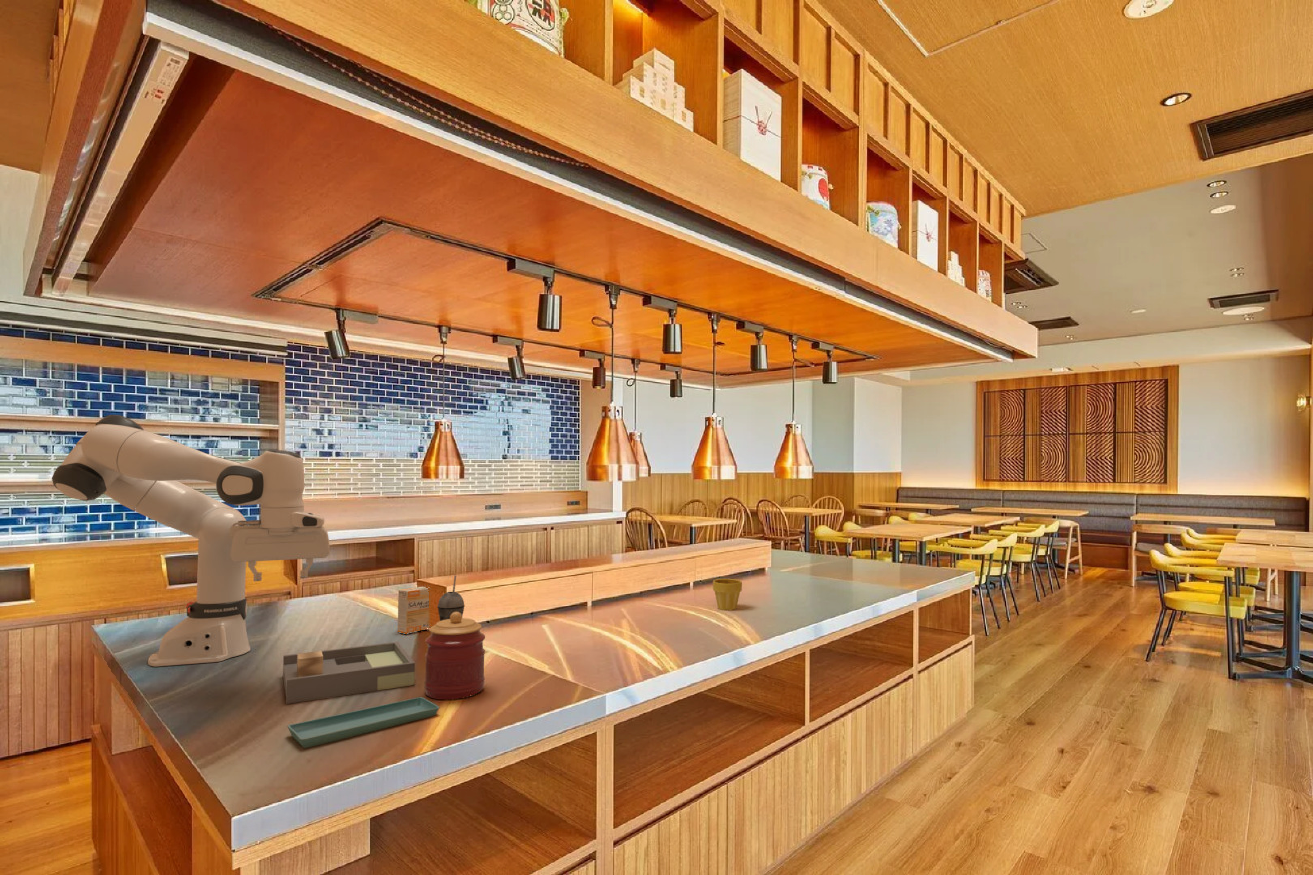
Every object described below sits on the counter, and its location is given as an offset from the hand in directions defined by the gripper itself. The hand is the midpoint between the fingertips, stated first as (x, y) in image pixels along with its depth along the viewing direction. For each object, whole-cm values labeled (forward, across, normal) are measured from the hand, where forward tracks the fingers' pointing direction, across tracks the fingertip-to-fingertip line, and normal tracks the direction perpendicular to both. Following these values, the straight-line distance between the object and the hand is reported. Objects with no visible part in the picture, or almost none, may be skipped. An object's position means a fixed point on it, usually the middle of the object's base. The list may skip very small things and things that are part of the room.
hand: (281, 579), depth 159 cm
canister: (+25, +37, -20) cm, 48 cm away
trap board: (+24, +14, -2) cm, 28 cm away
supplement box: (+24, +32, +42) cm, 58 cm away
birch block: (+21, +6, -3) cm, 22 cm away
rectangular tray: (+25, +18, -34) cm, 46 cm away
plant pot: (+25, +138, +35) cm, 144 cm away
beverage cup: (+24, +40, +18) cm, 50 cm away
